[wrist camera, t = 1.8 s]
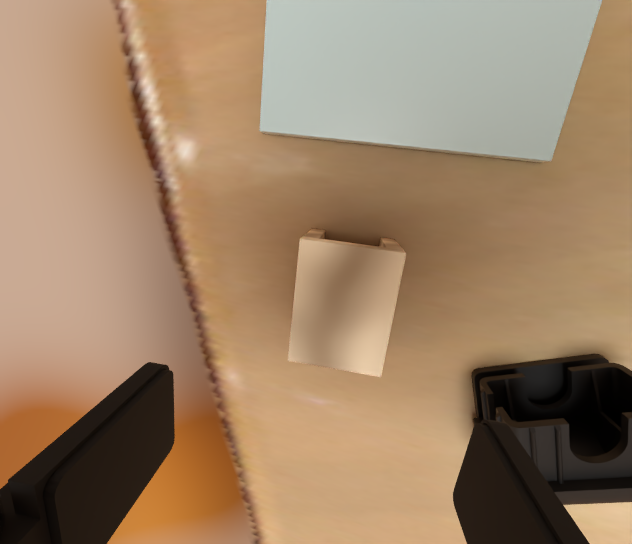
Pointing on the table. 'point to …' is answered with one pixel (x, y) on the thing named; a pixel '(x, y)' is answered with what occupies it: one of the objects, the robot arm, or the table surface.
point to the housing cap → (344, 303)
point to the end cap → (566, 422)
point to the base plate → (425, 72)
